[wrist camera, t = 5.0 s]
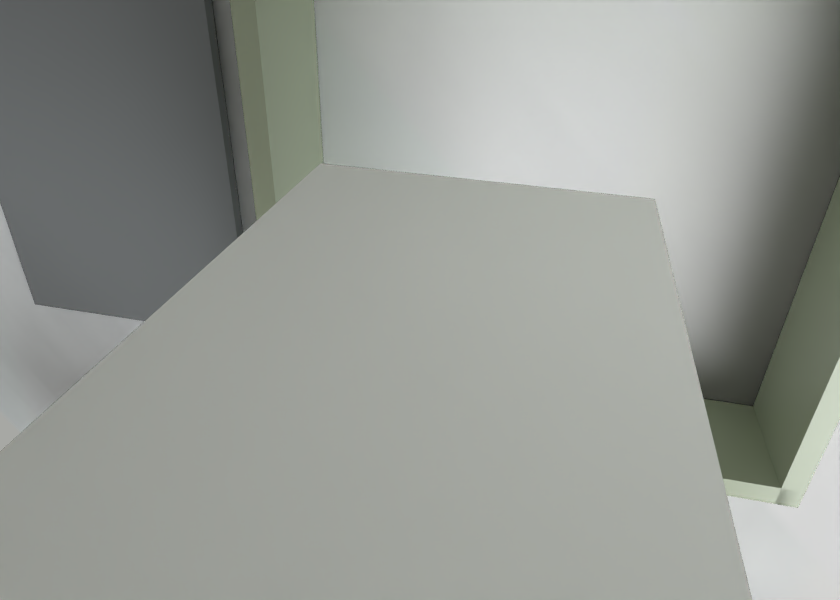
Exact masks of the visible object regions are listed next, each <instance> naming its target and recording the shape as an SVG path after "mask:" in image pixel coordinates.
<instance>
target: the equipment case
mask: <svg viewBox="0 0 840 600" xmlns="http://www.w3.org/2000/svg"><path fill="white" fill-rule="evenodd" d="M230 7H231V15H232V23H233V32H234V40H235V48H236V56H237V65H238V73H239V81H240V90H241V98H242V106H243V114H244V123H245V131H246V139H247V147H248V156H249V164H250V172H251V180H252V189H253V197H254V205H255V213H256V221H257V220H258V219H259V218H260V217H261V216H263V215H264V214H265V213H266V212H267V211H268V210H269V209H270V208H271V207H273V206H274V205H275V204H276V203H277V202H278V201H279V200H280V199H281V198H283V197H284V196H285V195H286V194H287V193H288V192H289V191H290V190H291V189H293V188H294V187H295V186H296V185H297V184H298V183H299V182H300V181H301V180H303V179H304V178H305V177H306V176H307V175H308V174H309V173H310V172H311V171H313V170H314V169H315V168H316V167H317V166H318V165H319V164H320V163H322V164H323V147H322V130H321V113H320V96H319V80H318V63H317V46H316V29H315V12H314V0H230ZM704 403H705V408H706V412H707V416H708V420H709V424H710V428H711V432H712V436H713V440H714V445H715V449H716V453H717V457H718V461H719V465H720V469H721V473H722V477H723V482H724V486H725V490H726V494H727V496H733V497H739V498H744V499H750V500H756V501H761V502H767V503H773V504H778V505H784V506H790V507H796V508H798V507H799V505H800V503H801V500H802V498H803V496H804V494H805V492H806V490H807V488H808V486H809V484H810V481H811V479H812V477H813V475H814V473H815V471H816V469H817V467H818V465H819V463H820V460H821V458H822V456H823V454H824V452H825V450H826V448H827V446H828V444H829V441H830V439H831V437H832V435H833V433H834V431H835V429H836V427H837V425H838V422H839V420H840V177H839V179H838V182H837V185H836V187H835V190H834V193H833V195H832V198H831V201H830V203H829V206H828V209H827V211H826V214H825V217H824V219H823V222H822V224H821V227H820V230H819V232H818V235H817V238H816V240H815V243H814V246H813V248H812V251H811V254H810V256H809V259H808V262H807V264H806V267H805V270H804V272H803V275H802V278H801V280H800V283H799V286H798V288H797V291H796V294H795V296H794V299H793V302H792V304H791V307H790V309H789V312H788V315H787V317H786V320H785V323H784V325H783V328H782V331H781V333H780V336H779V339H778V341H777V344H776V347H775V349H774V352H773V355H772V357H771V360H770V363H769V365H768V368H767V371H766V373H765V376H764V379H763V381H762V384H761V386H760V389H759V392H758V394H757V397H756V400H755V402H754V405H753V406H748V405H741V404H735V403H728V402H722V401H715V400H708V399H704Z"/></svg>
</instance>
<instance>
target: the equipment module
mask: <svg viewBox="0 0 840 600" xmlns="http://www.w3.org/2000/svg"><path fill="white" fill-rule="evenodd" d="M0 600H752V597H751V593H750V589H749V584H748V580H747V576H746V572H745V568H744V564H743V560H742V556H741V552H740V547H739V543H738V539H737V535H736V531H735V527H734V523H733V519H732V515H731V510H730V506H729V502H728V498H727V494H726V490H725V486H724V482H723V477H722V473H721V469H720V465H719V461H718V457H717V453H716V449H715V445H714V440H713V436H712V432H711V428H710V424H709V420H708V416H707V412H706V408H705V403H704V399H703V395H702V391H701V387H700V383H699V379H698V375H697V371H696V366H695V362H694V358H693V354H692V350H691V346H690V342H689V338H688V334H687V329H686V325H685V321H684V317H683V313H682V309H681V305H680V301H679V296H678V292H677V288H676V284H675V280H674V276H673V272H672V268H671V264H670V259H669V255H668V251H667V247H666V243H665V239H664V235H663V231H662V227H661V222H660V218H659V214H658V210H657V206H656V202H655V199H651V198H641V197H632V196H622V195H613V194H604V193H594V192H585V191H575V190H566V189H557V188H547V187H538V186H529V185H519V184H510V183H500V182H491V181H482V180H472V179H463V178H454V177H444V176H435V175H425V174H416V173H407V172H397V171H388V170H379V169H369V168H360V167H350V166H341V165H332V164H322V163H320V164H319V165H318V166H317V167H316V168H315V169H314V170H313V171H311V172H310V173H309V174H308V175H307V176H306V177H305V178H304V179H303V180H301V181H300V182H299V183H298V184H297V185H296V186H295V187H294V188H293V189H291V190H290V191H289V192H288V193H287V194H286V195H285V196H284V197H283V198H281V199H280V200H279V201H278V202H277V203H276V204H275V205H274V206H273V207H271V208H270V209H269V210H268V211H267V212H266V213H265V214H264V215H263V216H261V217H260V218H259V219H258V220H257V221H256V222H255V223H254V224H253V225H251V226H250V227H249V228H248V229H247V230H246V231H245V232H244V233H242V234H241V235H240V236H239V237H238V238H237V239H236V240H235V241H234V242H232V243H231V244H230V245H229V246H228V247H227V248H226V249H225V250H224V251H222V252H221V253H220V254H219V255H218V256H217V257H216V258H215V259H214V260H212V261H211V262H210V263H209V264H208V265H207V266H206V267H205V268H204V269H202V270H201V271H200V272H199V273H198V274H197V275H196V276H195V277H194V278H192V279H191V280H190V281H189V282H188V283H187V284H186V285H185V286H184V287H182V288H181V289H180V290H179V291H178V292H177V293H176V294H175V295H174V296H172V297H171V298H170V299H169V300H168V301H167V302H166V303H165V304H163V305H162V306H161V307H160V308H159V309H158V310H157V311H156V312H155V313H153V314H152V315H151V316H150V317H149V318H148V319H147V320H146V321H145V322H143V323H142V324H141V325H140V326H139V327H138V328H137V329H136V330H135V331H133V332H132V333H131V334H130V335H129V336H128V337H127V338H126V339H125V340H123V341H122V342H121V343H120V344H119V345H118V346H117V347H116V348H115V349H113V350H112V351H111V352H110V353H109V354H108V355H107V356H106V357H105V358H103V359H102V360H101V361H100V362H99V363H98V364H97V365H96V366H95V367H93V368H92V369H91V370H90V371H89V372H88V373H87V374H86V375H85V376H83V377H82V378H81V379H80V380H79V381H78V382H77V383H76V384H74V385H73V386H72V387H71V388H70V389H69V390H68V391H67V392H66V393H64V394H63V395H62V396H61V397H60V398H59V399H58V400H57V401H56V402H54V403H53V404H52V405H51V406H50V407H49V408H48V409H47V410H46V411H44V412H43V413H42V414H41V415H40V416H39V417H38V418H37V419H36V420H34V421H33V422H32V423H31V424H30V425H29V426H28V427H27V428H26V429H24V430H23V431H22V432H21V433H20V434H19V435H18V436H17V437H16V438H14V439H13V440H12V441H11V442H10V443H9V444H8V445H7V446H6V447H4V448H3V449H2V450H1V451H0Z"/></svg>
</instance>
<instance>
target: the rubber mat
mask: <svg viewBox="0 0 840 600" xmlns="http://www.w3.org/2000/svg"><path fill="white" fill-rule="evenodd" d="M0 203H1V206H2V209H3V212H4V215H5V218H6V221H7V224H8V226H9V229H10V232H11V235H12V238H13V241H14V244H15V247H16V250H17V253H18V256H19V259H20V262H21V265H22V268H23V271H24V273H25V276H26V279H27V282H28V285H29V288H30V291H31V294H32V297H33V300H34V303H35V304H37V305H44V306H50V307H57V308H63V309H70V310H76V311H83V312H89V313H96V314H102V315H109V316H115V317H122V318H129V319H135V320H142V321H146V320H147V319H148V318H149V317H150V316H151V315H152V314H153V313H155V312H156V311H157V310H158V309H159V308H160V307H161V306H162V305H163V304H165V303H166V302H167V301H168V300H169V299H170V298H171V297H172V296H174V295H175V294H176V293H177V292H178V291H179V290H180V289H181V288H182V287H184V286H185V285H186V284H187V283H188V282H189V281H190V280H191V279H192V278H194V277H195V276H196V275H197V274H198V273H199V272H200V271H201V270H202V269H204V268H205V267H206V266H207V265H208V264H209V263H210V262H211V261H212V260H214V259H215V258H216V257H217V256H218V255H219V254H220V253H221V252H222V251H224V250H225V249H226V248H227V247H228V246H229V245H230V244H231V243H232V242H234V241H235V240H236V239H237V238H238V237H239V236H240V235H241V234H242V233H243V230H242V223H241V215H240V208H239V200H238V193H237V185H236V178H235V170H234V163H233V156H232V148H231V141H230V133H229V126H228V118H227V111H226V103H225V96H224V89H223V81H222V74H221V66H220V59H219V51H218V44H217V36H216V29H215V22H214V14H213V7H212V0H0Z"/></svg>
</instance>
